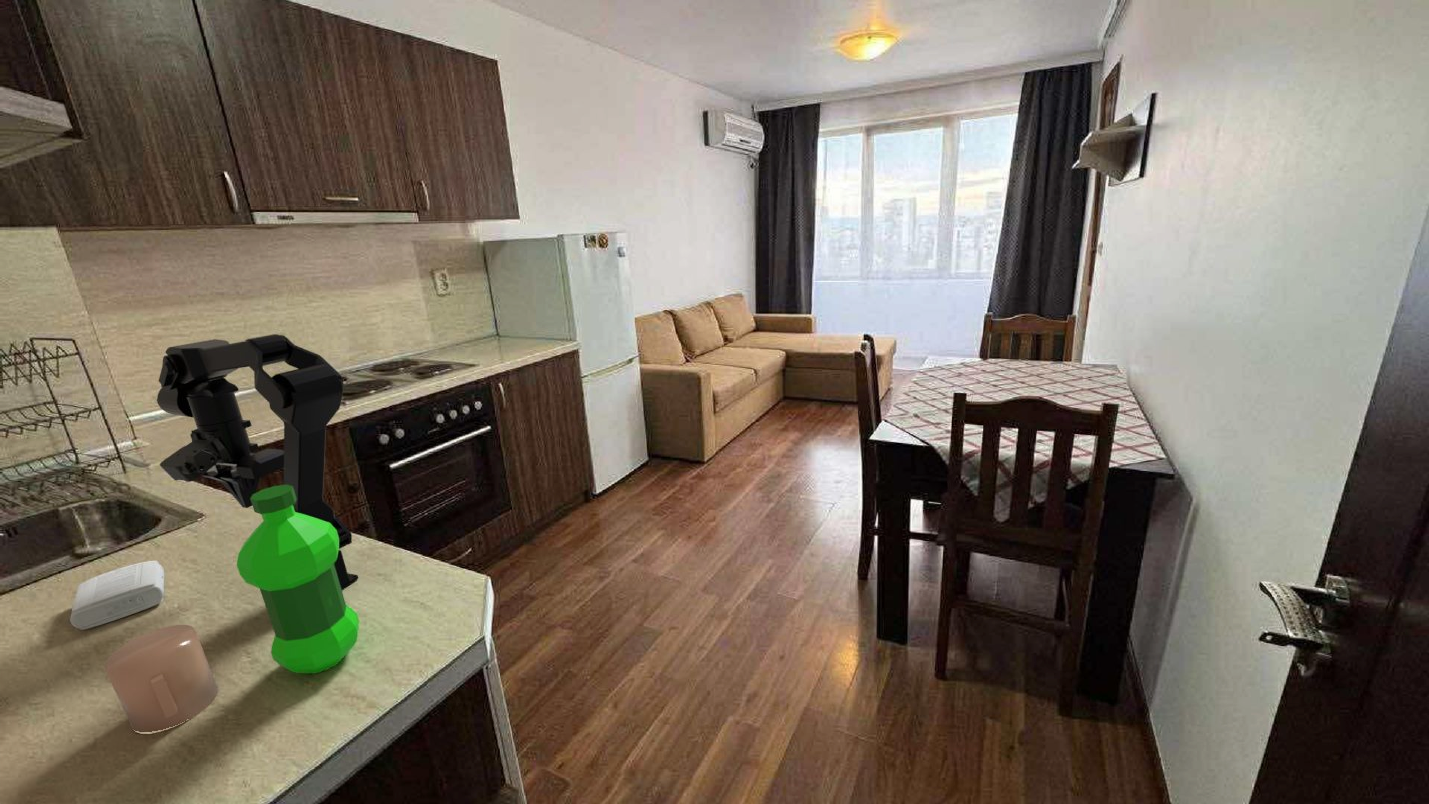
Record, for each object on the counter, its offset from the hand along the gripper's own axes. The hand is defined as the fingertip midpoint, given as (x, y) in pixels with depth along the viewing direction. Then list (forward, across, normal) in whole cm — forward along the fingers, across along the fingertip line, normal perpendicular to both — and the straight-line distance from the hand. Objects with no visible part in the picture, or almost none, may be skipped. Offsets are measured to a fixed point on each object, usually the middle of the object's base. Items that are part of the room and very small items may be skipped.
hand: (247, 506), depth 97 cm
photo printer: (+10, -9, -16) cm, 21 cm away
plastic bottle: (+12, +31, -15) cm, 37 cm away
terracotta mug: (+12, +20, -26) cm, 35 cm away
